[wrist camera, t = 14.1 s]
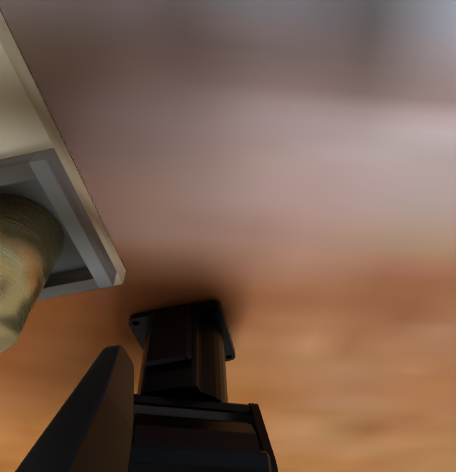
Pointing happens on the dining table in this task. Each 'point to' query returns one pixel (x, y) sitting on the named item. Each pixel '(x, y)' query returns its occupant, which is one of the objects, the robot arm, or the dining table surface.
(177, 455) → the robot arm
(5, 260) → the brass cylinder
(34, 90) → the mounted unit
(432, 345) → the dining table surface
